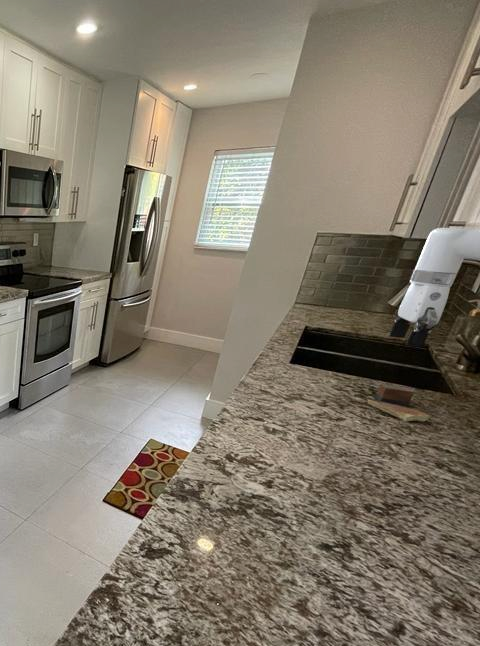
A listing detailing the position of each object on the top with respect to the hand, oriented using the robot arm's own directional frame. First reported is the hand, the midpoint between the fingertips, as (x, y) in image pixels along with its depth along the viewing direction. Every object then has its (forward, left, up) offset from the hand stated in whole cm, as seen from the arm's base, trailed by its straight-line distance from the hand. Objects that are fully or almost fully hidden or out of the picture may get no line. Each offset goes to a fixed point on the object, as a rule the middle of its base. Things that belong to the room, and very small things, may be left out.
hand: (404, 341), depth 111 cm
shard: (0, +10, -18) cm, 20 cm away
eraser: (-2, 0, -18) cm, 18 cm away
